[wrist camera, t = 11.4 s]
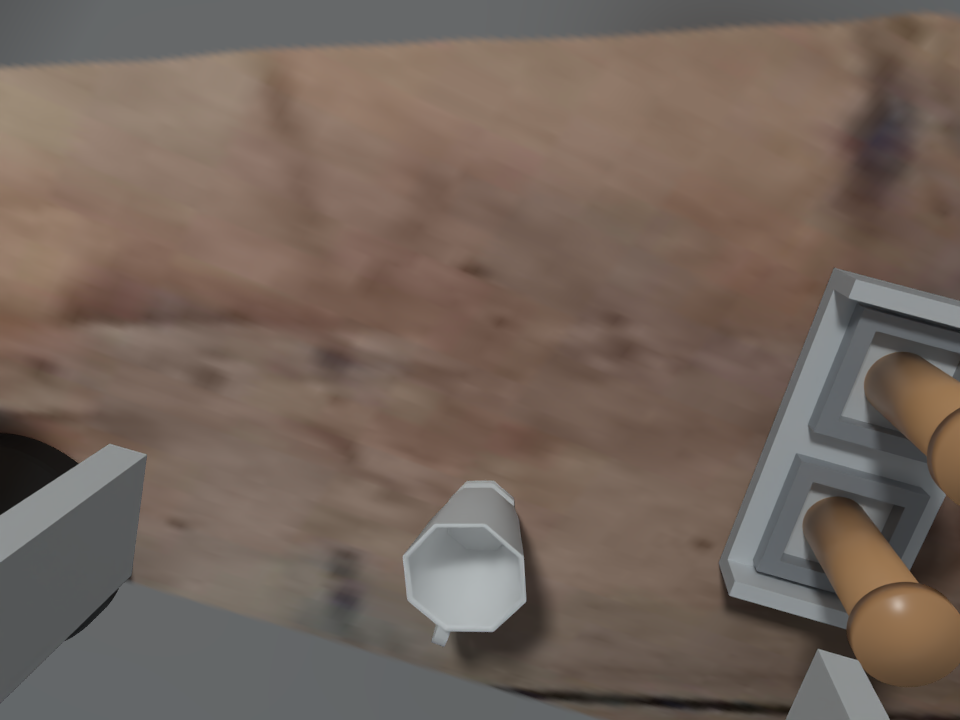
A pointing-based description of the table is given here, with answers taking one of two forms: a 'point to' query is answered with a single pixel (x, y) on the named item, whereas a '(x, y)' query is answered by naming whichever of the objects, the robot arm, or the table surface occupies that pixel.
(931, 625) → the rounded wooden peg
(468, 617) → the cup
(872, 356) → the tray
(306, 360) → the table surface
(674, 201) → the table surface
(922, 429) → the tan ball-headed post
